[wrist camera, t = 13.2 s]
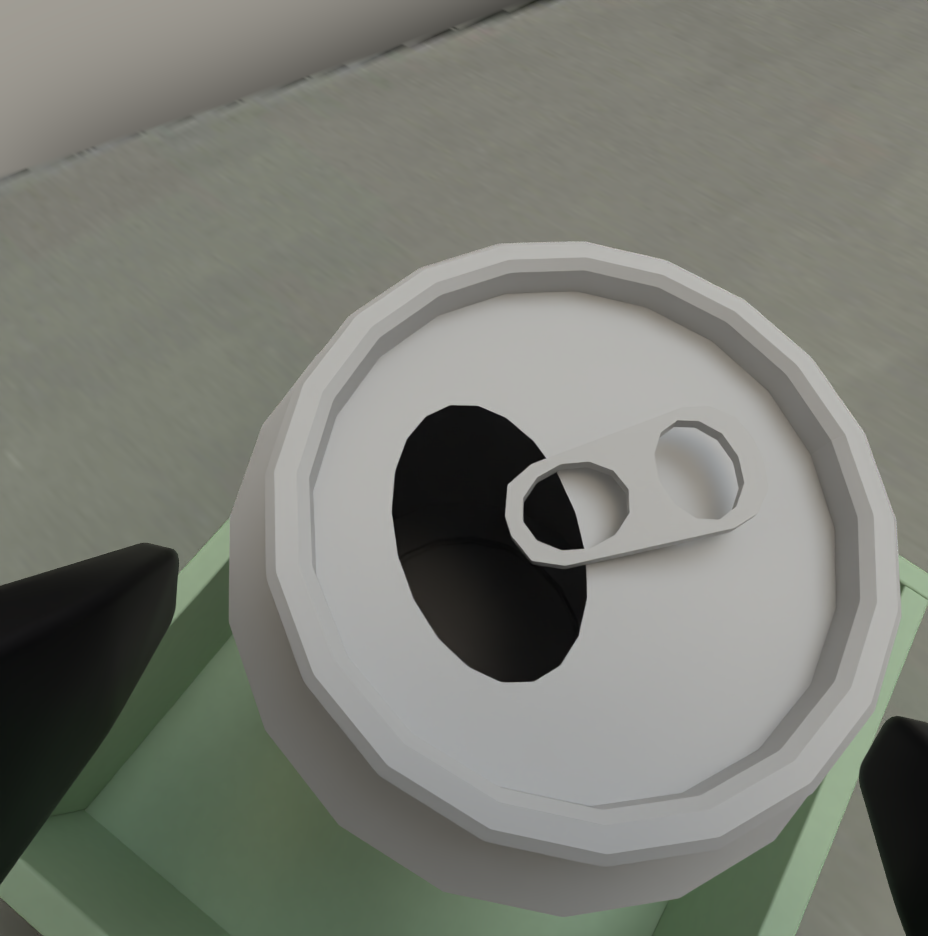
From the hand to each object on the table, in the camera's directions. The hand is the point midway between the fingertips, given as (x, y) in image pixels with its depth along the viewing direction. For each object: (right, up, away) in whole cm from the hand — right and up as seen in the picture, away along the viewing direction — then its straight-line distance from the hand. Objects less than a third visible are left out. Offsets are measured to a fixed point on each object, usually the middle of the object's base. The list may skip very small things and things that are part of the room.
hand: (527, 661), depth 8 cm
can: (-1, -2, +9) cm, 10 cm away
